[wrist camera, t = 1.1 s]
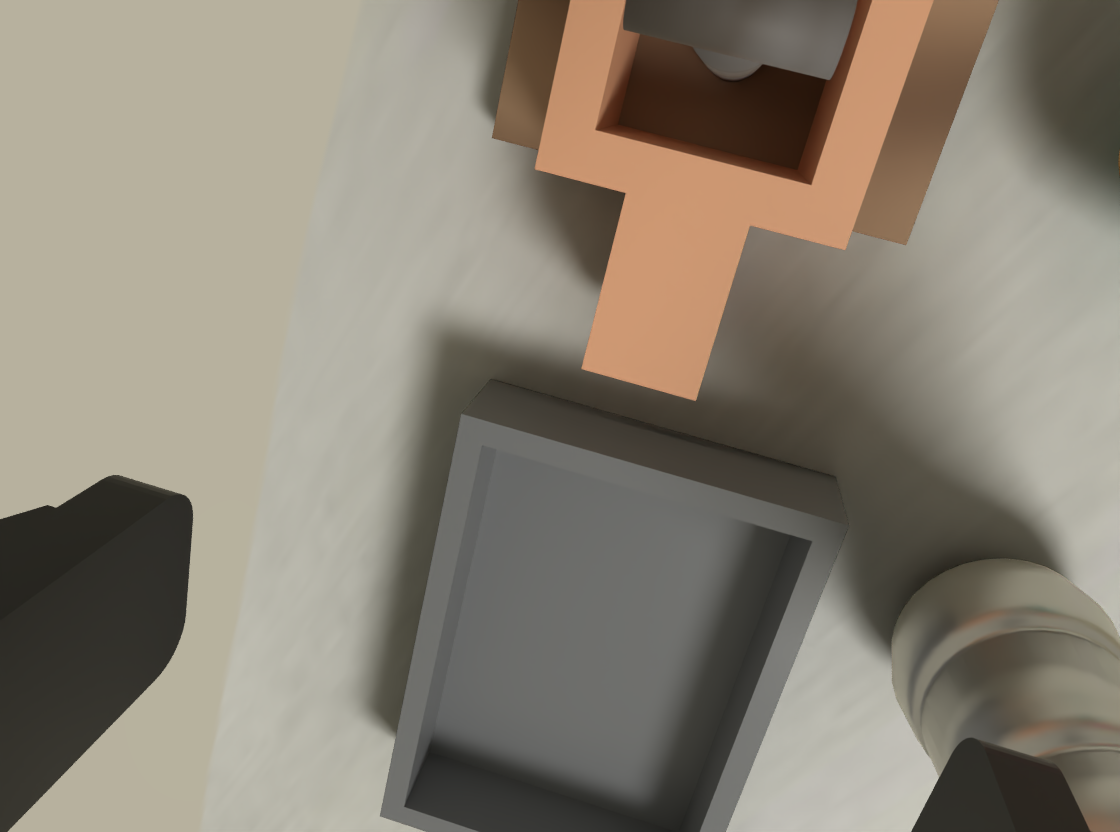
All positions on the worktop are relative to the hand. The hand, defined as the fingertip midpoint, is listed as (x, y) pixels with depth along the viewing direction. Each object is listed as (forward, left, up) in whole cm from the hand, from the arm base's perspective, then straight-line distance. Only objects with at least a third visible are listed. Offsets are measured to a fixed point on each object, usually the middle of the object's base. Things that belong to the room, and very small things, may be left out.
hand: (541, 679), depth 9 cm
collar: (-5, 0, -18) cm, 19 cm away
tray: (+13, +1, -20) cm, 24 cm away
